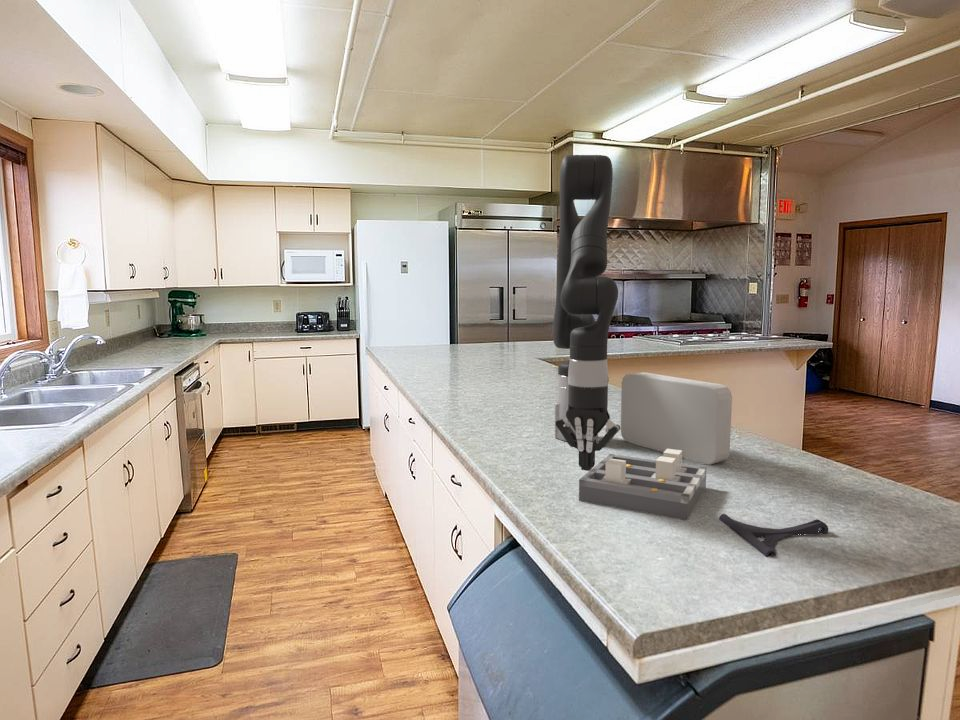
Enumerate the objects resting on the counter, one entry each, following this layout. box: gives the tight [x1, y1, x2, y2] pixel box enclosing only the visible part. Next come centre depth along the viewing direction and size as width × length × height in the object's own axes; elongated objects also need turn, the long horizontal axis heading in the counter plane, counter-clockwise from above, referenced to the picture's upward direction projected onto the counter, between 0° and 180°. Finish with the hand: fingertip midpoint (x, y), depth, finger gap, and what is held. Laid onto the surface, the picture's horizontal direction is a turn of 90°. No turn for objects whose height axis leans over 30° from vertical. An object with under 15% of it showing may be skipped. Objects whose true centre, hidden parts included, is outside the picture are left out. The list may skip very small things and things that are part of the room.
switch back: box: [662, 449, 687, 473], centre depth 120 cm, size 5×3×4 cm
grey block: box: [620, 371, 733, 465], centre depth 146 cm, size 29×8×18 cm, turn 33°
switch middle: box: [651, 455, 681, 482], centre depth 115 cm, size 5×3×4 cm
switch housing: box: [578, 453, 708, 521], centre depth 117 cm, size 20×19×4 cm
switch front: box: [601, 459, 631, 485], centre depth 114 cm, size 5×3×4 cm
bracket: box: [718, 513, 829, 558], centre depth 98 cm, size 14×15×3 cm
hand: (586, 469), depth 116 cm, fingers closed
